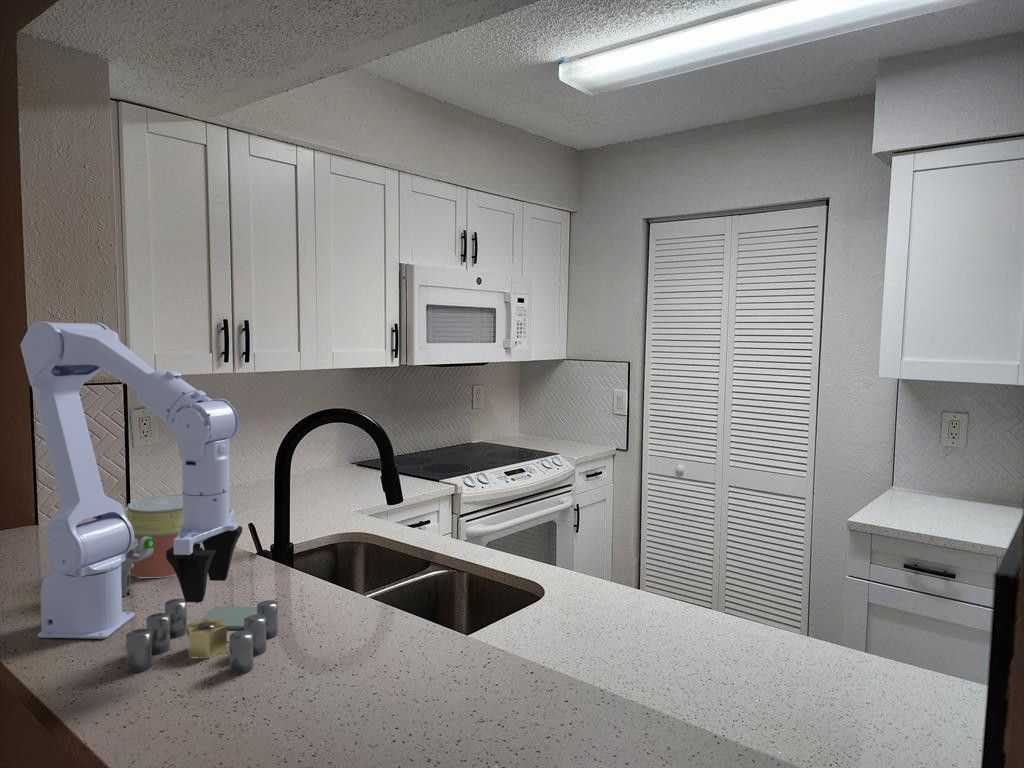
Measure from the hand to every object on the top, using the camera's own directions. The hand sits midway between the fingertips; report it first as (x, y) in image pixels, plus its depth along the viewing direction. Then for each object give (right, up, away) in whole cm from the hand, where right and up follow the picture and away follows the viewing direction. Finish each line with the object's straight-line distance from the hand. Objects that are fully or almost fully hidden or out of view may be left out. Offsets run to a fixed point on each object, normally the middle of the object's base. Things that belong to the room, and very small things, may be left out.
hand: (206, 590), depth 91 cm
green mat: (0, -8, +11) cm, 13 cm away
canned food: (-22, -6, +31) cm, 39 cm away
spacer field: (0, -8, +1) cm, 8 cm away
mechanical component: (-22, -7, +18) cm, 29 cm away
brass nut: (0, -8, +1) cm, 8 cm away
